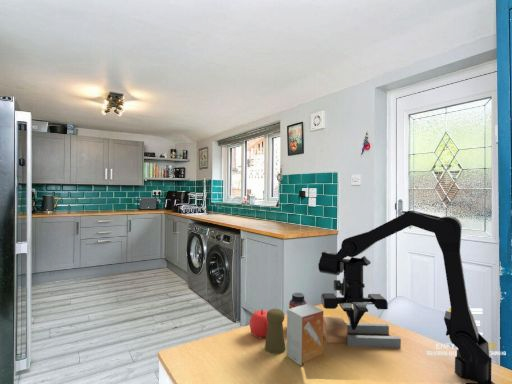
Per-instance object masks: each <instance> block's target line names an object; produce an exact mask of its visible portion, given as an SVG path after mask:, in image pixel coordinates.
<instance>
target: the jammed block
mask: <svg viewBox="0 0 512 384" xmlns="http://www.w3.org/2000/svg"><path fill="white" fill-rule="evenodd" d="M346 323H347V322H345V320H344V318H343V317H342V316H341V317H340V316H323V338H324V339H325V342H326V343H335V344H336V343H338V344H341V343H342V344H347V334H348V333H347V324H346Z"/></svg>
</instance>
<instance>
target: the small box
mask: <svg viewBox="0 0 512 384" xmlns="http://www.w3.org/2000/svg"><path fill="white" fill-rule="evenodd" d="M286 314H287V315H286V357H288V358H289V359H291V360H292V361H294V363H296V364H297V365H299V366H300V367H304V365H305V364H304V363H305V362H307V361H309V360H312V359H314V358H317V357H319V356H321V355H323V354H324V352H323V351H324V350H323V349H324V334H323V317H324V310H322V309H321V308H319V307H316V306H314V305H312V304H310V303H307V304H305V305H301V306H297V307H294V308H290V309H289V308H287V310H286Z"/></svg>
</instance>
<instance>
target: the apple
mask: <svg viewBox="0 0 512 384" xmlns="http://www.w3.org/2000/svg"><path fill="white" fill-rule="evenodd" d="M268 311H269V310H263V309H260V310H256V311H254V312H253V314H252V315H251V316H250V319H249V323H248V324H249V329H250V333H251V334H252V335H253V336H255V337H256V338H260V339H264V338H265V339H266V335H267V328H268V321H267V312H268Z"/></svg>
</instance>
